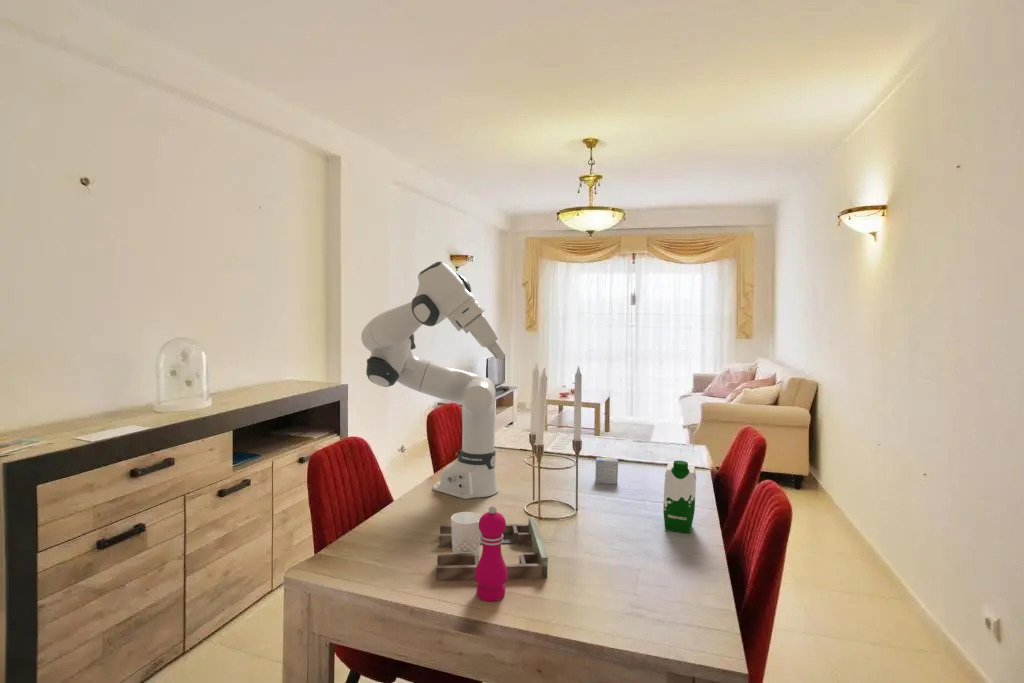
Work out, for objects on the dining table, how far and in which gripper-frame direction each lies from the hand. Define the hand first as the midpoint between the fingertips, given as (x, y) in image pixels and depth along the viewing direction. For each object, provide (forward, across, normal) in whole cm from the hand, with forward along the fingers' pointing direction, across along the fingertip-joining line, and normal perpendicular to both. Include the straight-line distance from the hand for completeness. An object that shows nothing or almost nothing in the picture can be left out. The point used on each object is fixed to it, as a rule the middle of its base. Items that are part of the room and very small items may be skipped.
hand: (501, 357), depth 143 cm
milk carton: (+73, -14, +10) cm, 75 cm away
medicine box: (+64, -56, +4) cm, 86 cm away
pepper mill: (+38, +20, -36) cm, 56 cm away
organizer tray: (+38, +1, -34) cm, 51 cm away
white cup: (+34, 0, -39) cm, 52 cm away
